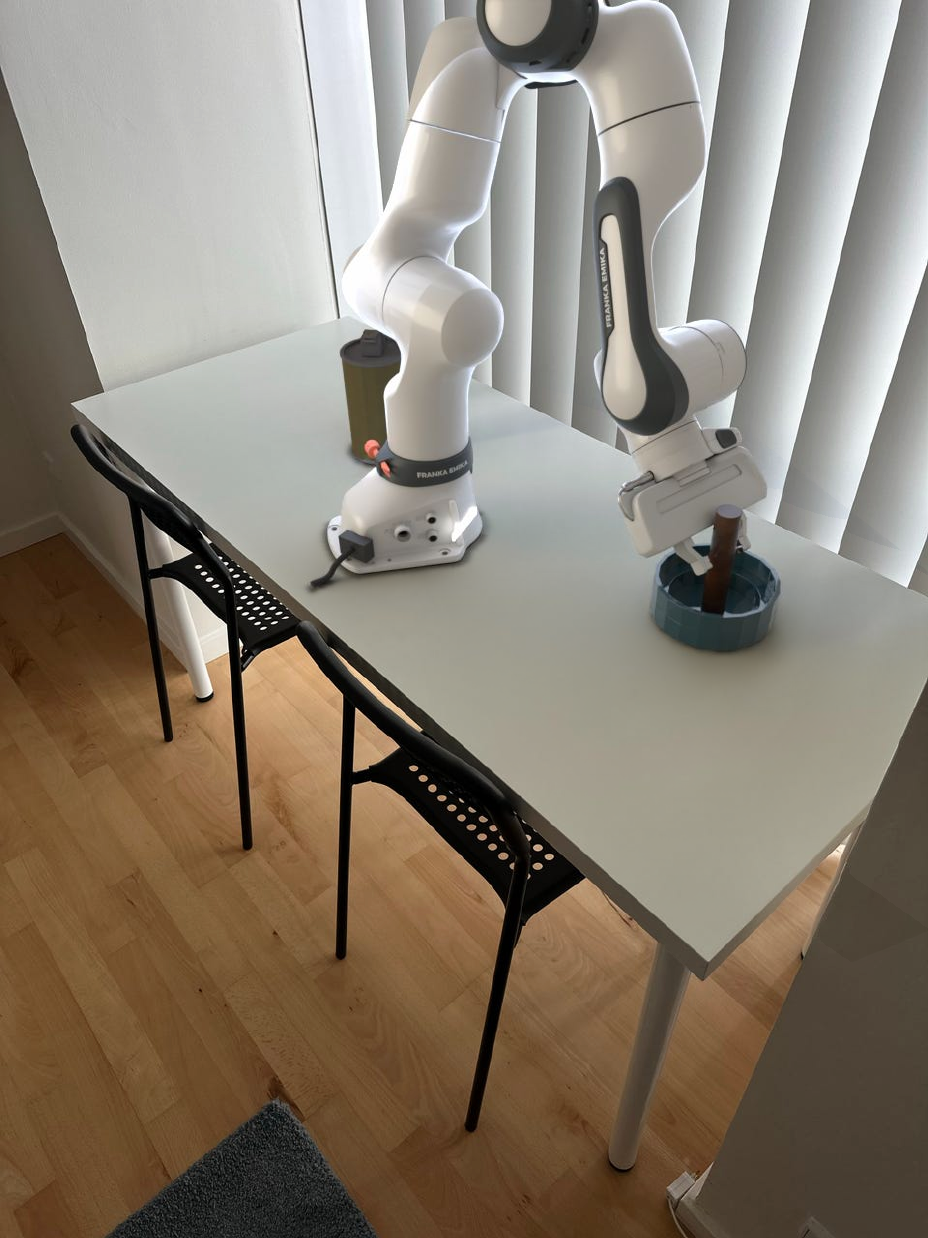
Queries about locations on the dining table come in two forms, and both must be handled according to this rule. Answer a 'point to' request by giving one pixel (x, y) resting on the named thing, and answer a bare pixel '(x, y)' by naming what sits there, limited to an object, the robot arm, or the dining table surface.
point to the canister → (368, 387)
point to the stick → (721, 558)
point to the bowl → (745, 605)
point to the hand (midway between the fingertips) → (724, 561)
